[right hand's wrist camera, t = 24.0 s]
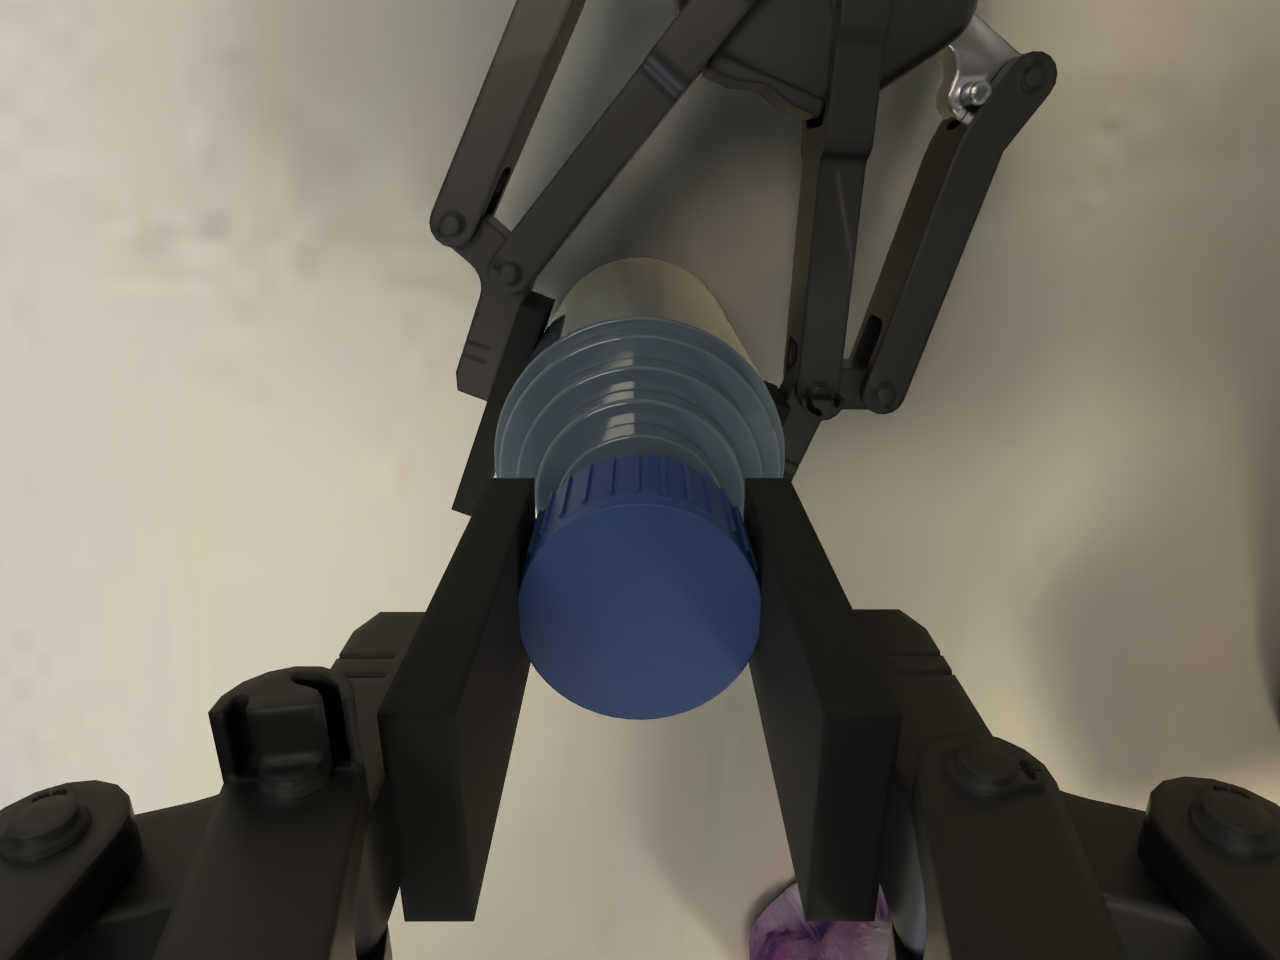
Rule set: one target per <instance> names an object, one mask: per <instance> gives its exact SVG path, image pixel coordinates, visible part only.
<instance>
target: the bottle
mask: <svg viewBox="0 0 1280 960" xmlns="http://www.w3.org/2000/svg"><path fill="white" fill-rule="evenodd" d="M494 453H495V470H496V476H497V478H534V489H535V510H536V518H537V515H538V512H539V510H542V511H543V510H544V508H545V506H546V505H547V503H548V500H549V496H550V493H551V492H552V491H554V492H556V491H557V490H558V489H559V488H560V487H561V486H562V485H563V484H564V483H565V482H566V478H567V477H568V476H569V475H571V476H572V477H573V476H574V475H576V474H577V473H578V472H580V471H581V470H583V469H585V468H586V467H587V464H589V463H592V465H593V464H596V463H598V462H601V461H604V460H607V459H610V456H613V455H615V458H616V457H621V456H630V455H635V453H640V455H651V456H658V457H659V455H660V454H661V455H664V457H665V458H668V459H671V460H675V461H678V462H681V463H683V461H685V462H688V466H690V467H692V468H694V469H696V470H697V471H699V472H701V473H702V474H704V473H705V472H706V473H707V474H709V478H710V480H712V481H713V482H714V483H715V484H716V485H717V486H718V487H719V488H720V489H722V488H723V487H724V489H725V490H726V492H727V495H728V498H729V500H730V501H731V503H732V504H733V506H734V507H735V506H738V508H739V510H740V514H741V517H742V521H743V517H744V496H745V478H783V473H784V462H785V446H784V435H783V430H782V424H781V420H780V417H779V414H778V411H777V408H776V405H775V402H774V400H773V398H772V396H771V394H770V392H769V390H768V388H767V386H766V385H765V383H764V381H763V380H762V378H761V376H760V374H759V373H758V371H757V369H756V368H755V366H754V364H753V362H752V361H751V359H750V357H749V355H748V354H747V352H746V350H745V349H744V347H743V345H742V343H741V342H740V340H739V338H738V336H737V335H736V333H735V331H734V330H733V328H732V326H731V324H730V323H729V321H728V319H727V318H726V316H725V314H724V312H723V311H722V309H721V307H720V305H719V304H718V302H717V300H716V299H715V298H714V296H713V295H712V293H711V292H710V290H709V289H708V288H707V287H706V286H705V285H704V284H703V283H702V282H701V281H700V280H699V279H698V278H696V277H695V276H694V275H693V274H691V273H690V272H688V271H686V270H685V269H683V268H681V267H679V266H677V265H675V264H673V263H670V262H666V261H663V260H660V259H654V258H643V257H634V258H625V259H620V260H616V261H612V262H610V263H607V264H605V265H602V266H600V267H598V268H597V269H595V270H593V271H591V272H590V273H588V274H587V275H586V276H584V277H583V278H582V279H580V280H579V281H578V282H577V283H576V284H575V285H574V286H573V287H572V289H571V290H570V291H569V293H568V294H567V295H566V297H565V298H564V300H563V301H562V303H561V305H560V307H559V308H558V310H557V312H556V314H555V315H554V317H553V319H552V320H551V322H550V324H549V326H548V327H547V329H546V331H545V332H544V334H543V336H542V338H541V339H540V341H539V343H538V345H537V346H536V348H535V350H534V351H533V353H532V355H531V357H530V358H529V360H528V362H527V363H526V365H525V367H524V369H523V370H522V372H521V374H520V375H519V377H518V379H517V381H516V382H515V384H514V386H513V388H512V389H511V391H510V393H509V395H508V396H507V399H506V401H505V404H504V406H503V409H502V411H501V414H500V418H499V422H498V426H497V430H496V438H495V448H494Z"/></svg>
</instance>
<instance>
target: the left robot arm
mask: <svg viewBox="0 0 1280 960" xmlns="http://www.w3.org/2000/svg"><path fill="white" fill-rule="evenodd" d="M585 1H586V0H517V1H516V4H515V6H514V9H513V11H512V13H511V16H510V18H509V21H508V23H507V26H506V28H505V31H504V33H503V36H502V38H501V41H500V43H499V46H498V48H497V51H496V53H495V56H494V58H493V61H492V63H491V66H490V68H489V71H488V73H487V76H486V78H485V81H484V83H483V86H482V88H481V91H480V93H479V96H478V98H477V100H476V103H475V105H474V108H473V110H472V113H471V115H470V118H469V120H468V123H467V125H466V128H465V130H464V133H463V135H462V138H461V140H460V143H459V145H458V148H457V150H456V153H455V155H454V158H453V160H452V163H451V165H450V168H449V170H448V173H447V175H446V178H445V180H444V183H443V185H442V187H441V190H440V192H439V195H438V197H437V200H436V202H435V205H434V207H433V210H432V212H431V216H430V222H429V223H430V228H431V232H432V234H433V235H434V237H435V238H436V240H437V241H439V242H440V243H441V244H443V245H445V246H448V247H451V248H452V249H454V250H455V251H456V252H457V253H458V254H459V255H461V256H462V257H463V258H464V259H465V260H467V261H468V262H469V263H470V264H471V265H472V266H473V267H474V268H475V270H476V271H477V273H478V275H479V278H480V281H481V294H480V298H479V301H478V304H477V308H476V311H475V314H474V317H473V320H472V323H471V327H470V330H469V333H468V336H467V340H466V342H465V346H464V349H463V353H462V355H461V358H460V361H459V365H458V368H457V371H456V377H457V388H458V391H461V392H464V393H466V394H469V395H472V396H475V397H477V398H480V399H483V400H485V401H487V404H486V407H485V410H484V413H483V416H482V419H481V422H480V425H479V428H478V431H477V434H476V437H475V440H474V443H473V446H472V449H471V452H470V455H469V458H468V461H467V464H466V467H465V470H464V473H463V476H462V479H461V482H460V485H459V488H458V491H457V494H456V497H455V500H454V503H453V506H452V510H455V511H457V512H460V513H463V514H466V515H469V516H472V515H473V512H474V510H475V508H476V506H477V504H478V502H479V500H480V498H481V496H482V494H483V492H484V490H485V487H486V485H487V483H488V481H489V479H490V478H493V477H494V474H495V472H496V470H495V453H494V448H495V438H496V430H497V426H498V422H499V418H500V414H501V411H502V409H503V406H504V404H505V401H506V399H507V396H508V395H509V393H510V391H511V389H512V388H513V386H514V384H515V382H516V381H517V379H518V377H519V375H520V374H521V372H522V370H523V369H524V367H525V365H526V363H527V362H528V360H529V358H530V357H531V355H532V353H533V351H534V350H535V348H536V346H537V345H538V343H539V341H540V339H541V338H542V336H543V334H544V331H545V328H546V325H547V322H548V319H549V317H550V314H551V311H552V308H553V305H554V302H555V300H554V299H552V298H549V297H547V296H544V295H542V294H539V293H536V292H534V291H532V289H533V286H534V283H535V280H536V277H537V276H538V275H539V273H540V272H541V271H542V270H543V268H544V267H545V266H546V265H547V263H548V262H549V261H550V260H551V258H552V257H553V256H554V255H555V253H556V252H557V251H558V250H559V248H560V247H561V246H562V245H563V243H564V242H565V241H566V240H567V238H568V237H569V236H570V235H571V233H572V232H573V231H574V230H575V228H576V227H577V226H578V225H579V223H580V222H581V221H582V220H583V218H584V217H585V216H586V215H587V213H588V212H589V211H590V210H591V208H592V207H593V206H594V205H595V203H596V202H597V201H598V200H599V198H600V197H601V196H602V195H603V194H604V192H605V191H606V190H607V189H608V187H609V186H610V185H611V184H612V182H613V181H614V180H615V179H616V177H617V176H618V175H619V174H620V172H621V171H622V170H623V169H624V167H625V166H626V165H627V164H628V162H629V161H630V160H631V159H632V157H633V156H634V155H635V154H636V152H637V151H638V150H639V149H640V147H641V146H642V145H643V144H644V142H645V141H646V140H647V139H648V137H649V136H650V135H651V134H652V132H653V131H654V130H655V129H656V127H657V126H658V125H659V124H660V122H661V121H662V120H663V119H664V117H665V116H666V115H667V114H668V112H669V111H670V110H671V109H672V107H673V106H674V105H675V104H676V103H677V101H678V100H679V99H680V98H681V97H682V95H683V94H684V93H685V92H686V90H687V89H688V88H689V87H690V85H691V84H692V83H693V82H694V80H695V79H696V78H697V77H698V75H699V74H700V73H701V72H703V75H702V77H704V78H706V79H709V80H711V81H713V82H715V83H718V84H720V85H722V86H725V87H727V88H734V89H743V90H751V91H756V92H758V93H759V94H760V95H762V96H763V97H764V98H765V99H766V100H768V101H769V102H770V103H771V104H772V105H774V106H775V107H776V108H777V109H778V110H780V111H782V112H784V113H787V114H789V115H791V116H794V117H796V118H798V119H800V120H803V127H802V138H801V156H802V173H801V184H800V195H799V206H798V217H797V228H796V239H795V250H794V261H793V272H792V283H791V294H790V305H789V316H788V327H787V338H786V349H785V360H784V371H783V375H784V379H783V381H782V383H781V386H780V388H779V389H778V387H777V386H776V385H774V384H771V383H769V382H766V381H764V383H765V385H766V386H767V388H768V390H769V392H770V394H771V396H772V398H773V400H774V402H775V405H776V408H777V411H778V414H779V417H780V420H781V424H782V430H783V435H784V446H785V462H784V473H783V478H789V479H790V481H792V479H793V476H794V475H795V473H796V471H797V469H798V467H799V464H800V463H801V461H802V459H803V457H804V454H805V452H806V450H807V448H808V446H809V444H810V442H811V440H812V438H813V436H814V434H815V432H816V430H817V428H818V426H819V424H820V422H821V421H822V420H828V419H831V418H833V417H834V416H836V415H837V414H838V413H839V412H840V411H841V410H842V409H868V410H870V411H872V412H874V413H876V414H887V413H891V412H893V411H895V410H896V409H897V408H898V407H900V405H901V404H902V402H903V400H904V398H905V396H906V393H907V391H908V388H909V386H910V383H911V381H912V378H913V376H914V373H915V371H916V368H917V366H918V363H919V361H920V358H921V356H922V353H923V351H924V348H925V346H926V343H927V341H928V338H929V336H930V333H931V331H932V328H933V326H934V323H935V321H936V318H937V316H938V313H939V311H940V308H941V306H942V303H943V301H944V298H945V296H946V293H947V291H948V288H949V286H950V283H951V281H952V278H953V276H954V273H955V271H956V268H957V266H958V263H959V261H960V258H961V256H962V253H963V251H964V248H965V246H966V243H967V241H968V238H969V236H970V233H971V231H972V228H973V226H974V223H975V221H976V218H977V216H978V213H979V211H980V208H981V206H982V203H983V201H984V198H985V196H986V193H987V191H988V188H989V186H990V183H991V181H992V178H993V176H994V173H995V171H996V168H997V166H998V163H999V161H1000V158H1001V156H1002V153H1003V151H1004V150H1005V149H1006V147H1007V146H1008V145H1009V144H1010V142H1011V141H1012V140H1013V139H1014V137H1015V136H1016V135H1017V134H1018V132H1019V131H1020V130H1021V129H1022V127H1023V126H1024V125H1025V124H1026V122H1027V121H1028V120H1029V119H1030V117H1031V116H1032V115H1033V114H1034V112H1035V111H1036V110H1037V109H1038V107H1039V106H1040V105H1041V104H1042V102H1043V101H1044V100H1045V99H1046V98H1047V96H1048V95H1049V94H1050V92H1051V91H1052V89H1053V87H1054V85H1055V83H1056V78H1057V69H1056V64H1055V62H1054V61H1053V59H1052V58H1051V56H1049V55H1047V54H1046V53H1044V52H1036V51H1033V52H1029V53H1026V54H1020V53H1019V52H1017V51H1016V50H1015V49H1014V48H1013V47H1012V46H1011V45H1010V44H1008V43H1007V42H1006V41H1005V40H1004V39H1003V38H1002V37H1001V36H1000V35H998V34H997V33H996V32H995V31H994V30H993V29H992V28H991V27H990V26H988V25H987V24H986V23H985V22H984V21H983V20H982V19H981V18H980V17H978V16H977V15H976V14H975V10H976V6H977V2H978V0H673V3H674V7H675V12H676V18H675V20H674V21H673V22H672V23H671V25H670V26H669V27H668V29H667V30H666V31H665V32H664V34H663V35H662V36H661V38H660V39H659V40H658V42H657V43H656V44H655V45H654V47H653V48H652V49H651V51H650V52H649V54H648V55H647V57H646V58H645V60H644V61H643V63H642V64H641V66H640V67H639V68H638V70H637V71H636V72H635V74H634V75H633V76H632V77H631V79H630V80H629V81H628V83H627V84H626V85H625V86H624V88H623V89H622V90H621V92H620V93H619V94H618V95H617V97H616V98H615V99H614V101H613V102H612V103H611V104H610V106H609V107H608V108H607V110H606V111H605V112H604V113H603V115H602V116H601V117H600V119H599V120H598V121H597V122H596V124H595V125H594V126H593V128H592V129H591V130H590V131H589V133H588V134H587V135H586V137H585V138H584V139H583V140H582V142H581V143H580V144H579V146H578V147H577V148H576V149H575V151H574V152H573V153H572V155H571V156H570V157H569V158H568V160H567V161H566V162H565V164H564V165H563V166H562V168H561V169H560V170H559V171H558V173H557V174H556V175H555V177H554V178H553V179H552V180H551V182H550V183H549V184H548V186H547V187H546V188H545V189H544V191H543V192H542V193H541V195H540V196H539V197H538V198H537V200H536V201H535V202H534V204H533V205H532V206H531V207H530V209H529V210H528V211H527V213H526V214H525V215H524V216H523V218H522V219H521V220H520V222H519V223H518V224H517V225H516V227H515V228H514V229H513V231H512V232H511V231H510V230H509V229H508V228H506V227H505V226H504V225H503V224H502V223H501V222H500V221H498V220H497V219H496V218H495V217H494V215H495V212H496V210H497V208H498V205H499V203H500V201H501V198H502V196H503V194H504V191H505V189H506V187H507V184H508V182H509V180H510V177H511V175H512V173H513V170H514V168H515V166H516V163H517V161H518V159H519V156H520V154H521V152H522V149H523V147H524V145H525V142H526V140H527V138H528V135H529V133H530V131H531V128H532V126H533V124H534V121H535V119H536V117H537V114H538V112H539V110H540V107H541V105H542V103H543V100H544V98H545V96H546V93H547V91H548V89H549V86H550V84H551V82H552V79H553V77H554V75H555V72H556V70H557V68H558V65H559V63H560V61H561V58H562V56H563V54H564V51H565V49H566V47H567V44H568V42H569V40H570V37H571V35H572V33H573V30H574V28H575V26H576V23H577V21H578V19H579V16H580V14H581V12H582V9H583V7H584V4H585ZM935 54H938V56H939V57H940V58H941V60H942V62H943V65H944V77H943V81H942V84H941V86H940V88H939V90H938V93H937V97H936V107H937V110H938V112H939V114H940V115H941V116H942V118H943V121H942V122H941V124H940V125H939V127H938V129H937V130H936V132H935V134H934V136H933V138H932V139H931V141H930V143H929V146H928V148H927V150H926V153H925V155H924V157H923V160H922V162H921V165H920V168H919V170H918V173H917V176H916V179H915V181H914V184H913V187H912V189H911V192H910V195H909V198H908V200H907V203H906V206H905V208H904V211H903V214H902V217H901V219H900V222H899V225H898V227H897V230H896V233H895V236H894V238H893V241H892V244H891V246H890V249H889V252H888V255H887V257H886V260H885V263H884V265H883V268H882V271H881V274H880V276H879V279H878V282H877V284H876V287H875V290H874V292H873V295H872V298H871V301H870V303H869V306H868V309H867V311H866V314H865V317H864V320H863V322H862V325H861V328H860V330H859V333H858V336H857V339H856V341H855V344H854V347H853V349H852V352H851V355H850V358H849V359H843V354H844V346H845V337H846V329H847V320H848V311H849V303H850V294H851V286H852V277H853V269H854V260H855V251H856V243H857V234H858V226H859V217H860V209H861V200H862V191H863V183H864V174H865V167H866V162H867V159H868V157H869V155H870V153H871V149H872V146H873V140H874V132H875V124H876V115H877V107H878V99H879V92H880V91H882V90H883V89H884V88H886V87H887V86H889V85H890V84H892V83H893V82H895V81H896V80H898V79H899V78H901V77H902V76H904V75H905V74H907V73H908V72H910V71H911V70H913V69H914V68H916V67H917V66H919V65H920V64H922V63H923V62H925V61H926V60H928V59H929V58H931V57H932V56H934V55H935Z"/></svg>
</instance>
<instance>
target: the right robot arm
mask: <svg viewBox="0 0 1280 960" xmlns="http://www.w3.org/2000/svg"><path fill="white" fill-rule="evenodd" d="M535 522H536V510H535V489H534V478H490V479H489V481H488V483H487V485H486V487H485V490H484V492H483V494H482V496H481V498H480V500H479V502H478V504H477V506H476V508H475V510H474V512H473V515H472V517H471V519H470V521H469V523H468V525H467V527H466V529H465V531H464V533H463V535H462V537H461V539H460V542H459V544H458V546H457V548H456V550H455V552H454V554H453V556H452V558H451V560H450V562H449V564H448V567H447V569H446V571H445V573H444V575H443V577H442V579H441V581H440V583H439V585H438V587H437V589H436V591H435V594H434V596H433V598H432V600H431V602H430V604H429V606H428V608H427V610H426V612H380V613H378V614H377V615H376V616H374V617H373V618H372V619H370V620H369V621H367V622H366V623H365V624H363V625H362V626H361V627H359V628H358V629H356V630H355V631H354V632H353V633H352V635H351V637H350V638H349V640H348V641H347V643H346V645H345V646H344V648H343V650H342V651H341V653H340V658H339V659H336V661H335V663H334V664H333V666H332V667H331V669H328V668H324V667H311V666H296V667H291V668H285V669H280V670H275V671H270V672H267V673H265V674H262V675H259V676H257V677H254V678H252V679H249V680H247V681H244V682H242V683H241V684H239V685H238V686H236V687H235V688H233V689H232V690H230V691H229V692H227V693H226V694H224V695H223V696H221V697H220V699H219V700H218V701H217V702H216V704H215V705H214V706H213V707H212V709H211V710H210V711H209V712H208V714H209V719H210V723H211V728H212V732H213V737H214V741H215V746H216V750H217V755H218V759H219V764H220V768H221V773H222V777H223V782H224V784H223V786H222V789H221V791H220V794H218V795H216V796H212V797H209V798H205V799H202V800H198V801H195V802H191V803H187V804H182V805H178V806H173V807H169V808H164V809H160V810H155V811H151V812H146V813H142V814H137V815H134V812H133V808H132V804H131V801H130V797H129V795H128V794H127V793H125V792H124V791H123V790H122V789H121V788H120V787H119V786H118V785H116V784H111V783H107V782H102V781H97V780H93V781H82V782H71V783H65V784H62V785H59V786H54V787H52V788H47V789H44V790H42V791H38V792H35V793H33V794H31V795H29V796H27V797H25V798H23V799H21V800H19V801H17V802H15V803H13V804H11V805H9V806H7V807H5V808H3V809H2V810H1V811H0V960H392V951H391V943H390V936H389V929H388V920H389V917H390V914H391V911H392V908H393V905H394V902H395V899H396V896H397V893H398V890H399V887H400V890H401V897H402V905H403V912H404V919H405V921H474V918H475V914H476V909H477V905H478V900H479V896H480V891H481V886H482V882H483V877H484V873H485V868H486V864H487V859H488V855H489V850H490V845H491V841H492V836H493V832H494V827H495V823H496V818H497V814H498V809H499V804H500V800H501V795H502V791H503V786H504V782H505V777H506V772H507V768H508V763H509V759H510V754H511V750H512V745H513V741H514V736H515V731H516V727H517V722H518V718H519V713H520V709H521V704H522V700H523V695H524V690H525V686H526V681H527V677H528V672H529V668H530V663H531V661H530V660H529V658H528V656H527V654H526V652H525V650H524V648H523V645H522V642H521V635H520V619H519V601H518V590H519V586H520V583H521V579H522V571H523V568H524V564H525V561H526V558H527V556H526V552H527V549H528V545H529V542H530V538H531V535H532V532H533V528H534V525H535ZM743 524H744V526H745V527H746V530H747V534H748V537H749V540H750V544H751V547H752V551H753V554H754V557H755V561H756V564H757V568H758V574H756V575H757V578H758V582H759V585H760V590H761V608H760V625H759V639H758V643H757V645H756V647H755V650H754V652H753V655H752V656H751V658H750V660H749V666H750V671H751V675H752V680H753V684H754V689H755V693H756V698H757V703H758V707H759V712H760V716H761V721H762V725H763V730H764V734H765V739H766V744H767V748H768V753H769V757H770V762H771V766H772V771H773V776H774V780H775V785H776V789H777V794H778V798H779V803H780V807H781V812H782V817H783V821H784V826H785V830H786V835H787V839H788V844H789V848H790V853H791V858H792V862H793V867H794V871H795V876H796V880H797V885H798V890H799V894H800V899H801V903H802V908H803V912H804V917H805V921H875V914H876V907H877V900H878V892H879V885H881V888H882V891H883V894H884V897H885V900H886V903H887V906H888V909H889V912H890V915H891V918H892V921H893V922H892V929H891V936H890V943H889V950H888V957H887V960H1280V806H1278V805H1277V804H1275V803H1273V802H1271V801H1269V800H1267V799H1265V798H1263V797H1261V796H1259V795H1257V794H1255V793H1253V792H1251V791H1249V790H1247V789H1245V788H1241V787H1238V786H1235V785H1232V784H1228V783H1225V782H1221V781H1217V780H1214V779H1206V778H1195V777H1180V778H1175V779H1170V780H1166V781H1162V782H1161V783H1160V784H1159V785H1158V786H1157V787H1156V788H1155V789H1154V790H1153V791H1152V792H1151V794H1150V797H1149V801H1148V805H1147V808H1146V812H1145V811H1141V810H1136V809H1132V808H1127V807H1123V806H1118V805H1114V804H1109V803H1104V802H1100V801H1095V800H1091V799H1086V798H1083V797H1080V796H1076V795H1073V794H1069V793H1066V792H1063V791H1061V790H1059V788H1058V785H1057V783H1056V781H1055V780H1054V778H1053V777H1052V775H1051V774H1050V772H1049V771H1048V770H1047V768H1046V767H1045V765H1044V764H1043V763H1041V762H1040V761H1039V760H1037V759H1036V758H1035V757H1033V756H1032V755H1031V754H1030V753H1028V752H1027V751H1026V750H1024V749H1023V748H1020V747H1018V746H1016V745H1014V744H1012V743H1009V742H1007V741H1005V740H1003V739H1000V738H998V737H993V736H992V734H991V733H990V731H989V730H988V728H987V726H986V725H985V723H984V721H983V720H982V718H981V717H980V715H979V713H978V712H977V710H976V709H975V707H974V705H973V704H972V702H971V700H970V699H969V697H968V696H967V694H966V692H965V691H964V689H963V688H962V686H961V684H960V683H959V681H958V680H957V678H956V676H955V675H952V670H951V668H950V667H949V665H948V663H947V662H946V660H945V659H944V657H943V656H940V651H939V649H938V647H937V646H936V644H935V642H934V641H933V639H932V638H931V636H930V634H929V633H928V631H927V630H926V628H924V627H923V626H921V625H920V624H919V623H917V622H916V621H914V620H913V619H912V618H910V617H909V616H908V615H906V614H905V613H903V612H902V611H901V610H852V608H851V605H850V603H849V601H848V599H847V597H846V595H845V593H844V591H843V589H842V587H841V585H840V583H839V580H838V578H837V576H836V574H835V572H834V570H833V568H832V566H831V564H830V562H829V560H828V558H827V556H826V553H825V551H824V549H823V547H822V545H821V543H820V541H819V539H818V537H817V535H816V533H815V531H814V528H813V526H812V524H811V522H810V520H809V518H808V516H807V514H806V512H805V510H804V508H803V506H802V503H801V501H800V499H799V497H798V495H797V493H796V491H795V489H794V487H793V485H792V483H791V481H790V479H789V478H745V496H744V517H743Z"/></svg>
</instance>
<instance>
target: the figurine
mask: <svg viewBox="0 0 1280 960" xmlns="http://www.w3.org/2000/svg"><path fill="white" fill-rule="evenodd" d="M892 922H893V921H892V918H891V915H890V912H889V909H888V906H887V903H886V900H885V897H884V894H883V891H882V888H881V885H879V892H878V900H877V907H876V914H875V921H805V917H804V912H803V908H802V903H801V899H800V894H799V890H798V885H797V882H796V883H795V884H792V885H791V886H790V887H788V888H787V889H786V890H785V892H784V893H782V894H780V895H779V896H778V897H777V898H776V899H775V900H774V901H773V902H771V903H770V904H769V905H768V906H767V908H766V909H765V910H764V911H763V912H762V913H761V915H760V916H759V917H758V918H757V919H756V920H755V922H754V923H753V927H752V931H751V936H750V942H749V944H750V960H887V957H888V950H889V943H890V936H891V929H892Z"/></svg>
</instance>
